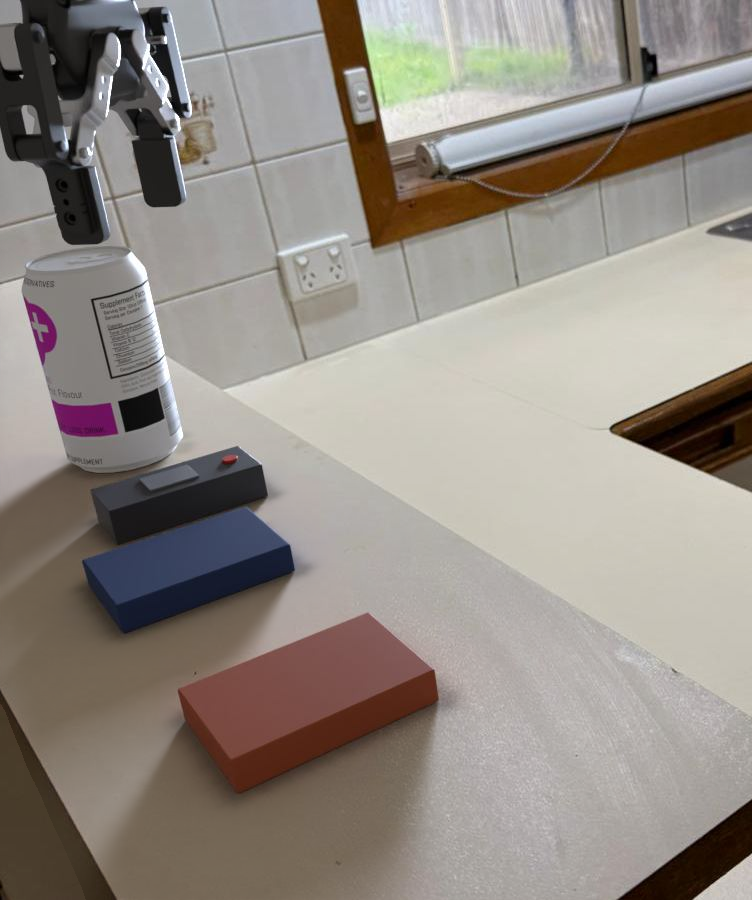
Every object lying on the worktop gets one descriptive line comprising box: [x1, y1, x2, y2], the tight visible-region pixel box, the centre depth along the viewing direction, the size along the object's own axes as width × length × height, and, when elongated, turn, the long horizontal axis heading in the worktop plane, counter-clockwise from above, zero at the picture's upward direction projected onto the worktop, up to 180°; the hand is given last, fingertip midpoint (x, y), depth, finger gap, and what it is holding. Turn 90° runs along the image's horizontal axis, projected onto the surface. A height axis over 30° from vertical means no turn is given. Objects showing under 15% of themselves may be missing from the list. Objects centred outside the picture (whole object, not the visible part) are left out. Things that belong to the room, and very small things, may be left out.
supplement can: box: [21, 244, 184, 474], centre depth 83 cm, size 8×8×15 cm
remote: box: [89, 445, 269, 546], centre depth 76 cm, size 10×4×3 cm, turn 127°
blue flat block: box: [81, 506, 296, 634], centre depth 67 cm, size 7×10×2 cm
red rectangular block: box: [177, 612, 440, 794], centre depth 54 cm, size 7×10×2 cm
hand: (130, 223), depth 61 cm, fingers open, 8 cm apart
